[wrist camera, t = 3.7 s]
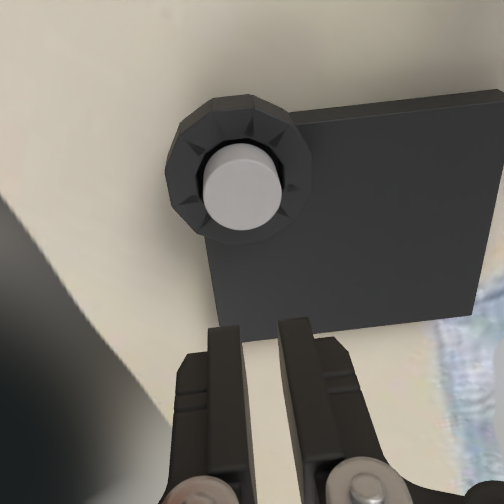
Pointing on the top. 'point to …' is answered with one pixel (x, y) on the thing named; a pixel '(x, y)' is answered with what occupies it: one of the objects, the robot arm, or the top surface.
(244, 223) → the button
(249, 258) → the scale
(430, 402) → the top surface
